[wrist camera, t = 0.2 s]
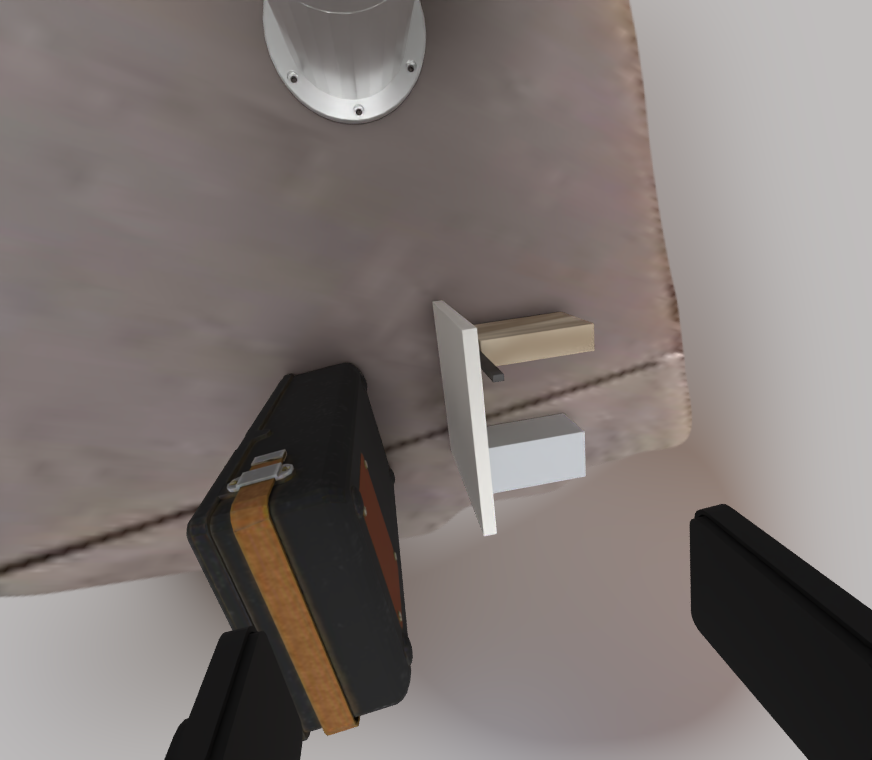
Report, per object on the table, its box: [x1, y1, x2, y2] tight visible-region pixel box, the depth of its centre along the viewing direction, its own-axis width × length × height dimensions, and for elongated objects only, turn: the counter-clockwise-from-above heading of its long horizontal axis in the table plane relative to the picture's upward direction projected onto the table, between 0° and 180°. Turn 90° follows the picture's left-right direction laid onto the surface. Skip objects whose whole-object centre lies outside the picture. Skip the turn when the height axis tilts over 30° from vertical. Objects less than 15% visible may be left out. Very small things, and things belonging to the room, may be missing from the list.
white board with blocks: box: [432, 300, 585, 536], centre depth 40 cm, size 19×13×15 cm
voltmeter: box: [187, 363, 413, 741], centre depth 34 cm, size 16×9×25 cm, turn 13°
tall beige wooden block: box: [474, 312, 594, 382], centre depth 39 cm, size 2×11×14 cm, turn 97°
